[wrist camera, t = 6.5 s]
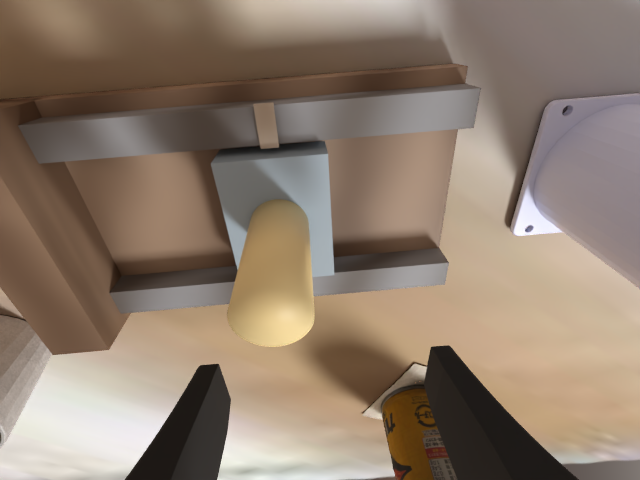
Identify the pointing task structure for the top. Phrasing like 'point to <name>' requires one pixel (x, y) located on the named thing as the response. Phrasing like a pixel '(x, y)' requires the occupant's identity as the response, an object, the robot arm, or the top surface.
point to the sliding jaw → (276, 236)
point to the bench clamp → (214, 190)
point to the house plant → (18, 369)
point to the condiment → (412, 429)
